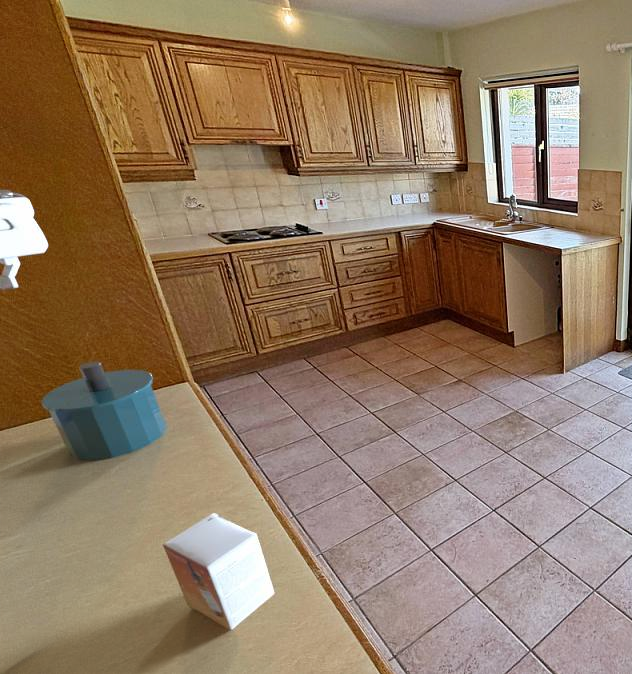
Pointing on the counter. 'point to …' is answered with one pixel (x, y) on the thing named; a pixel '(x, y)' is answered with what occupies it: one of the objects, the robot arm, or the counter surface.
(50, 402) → the lid
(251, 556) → the small box
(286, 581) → the counter surface
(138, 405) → the canister
